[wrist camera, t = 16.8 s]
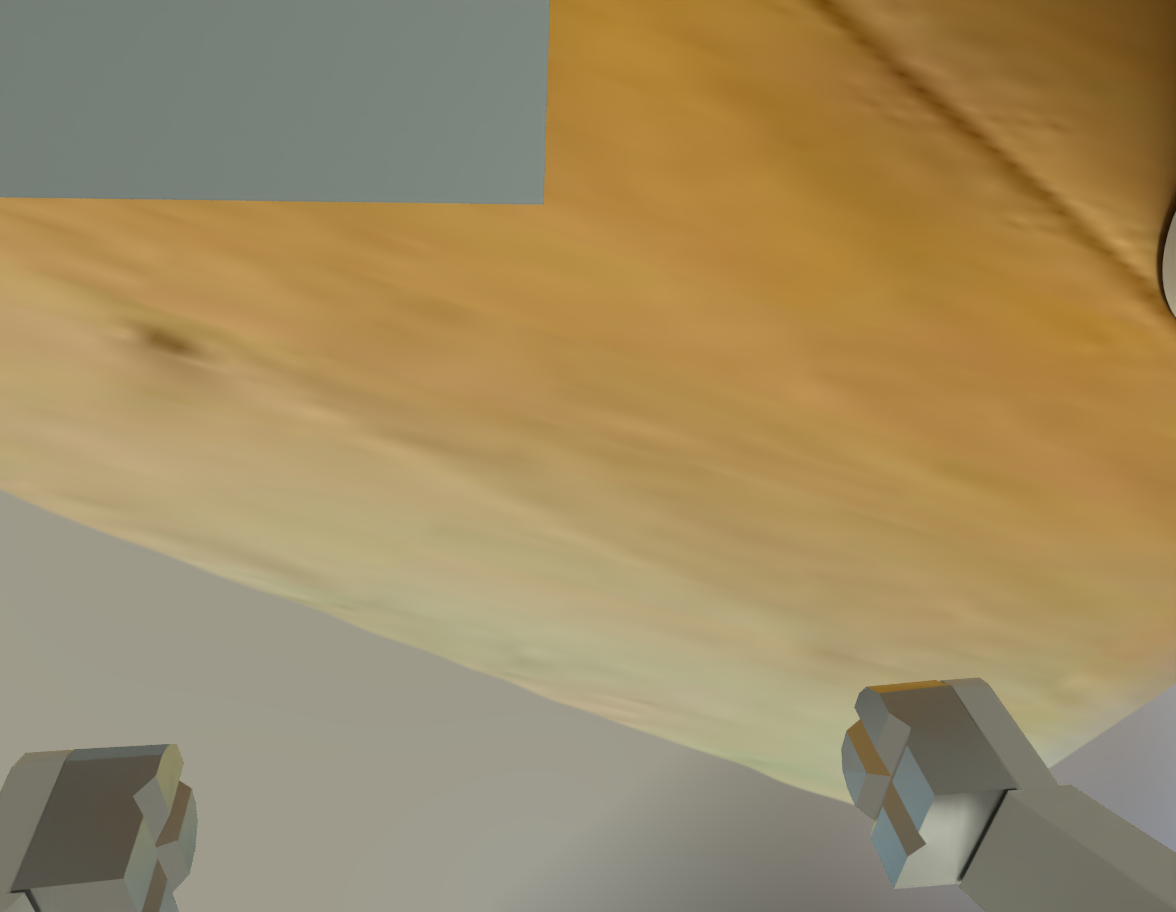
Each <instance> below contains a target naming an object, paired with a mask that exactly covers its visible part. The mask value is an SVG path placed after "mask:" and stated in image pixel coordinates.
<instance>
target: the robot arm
mask: <svg viewBox="0 0 1176 912" xmlns="http://www.w3.org/2000/svg"><path fill="white" fill-rule="evenodd" d="M1163 284H1164V290H1165V295H1166V298H1167V301H1168V304H1169V306H1170V308H1171V310H1172V312H1173V314H1174V315H1175V317H1176V212H1175V215H1174V217H1173V220H1172V223H1171V226H1170V229H1169V232H1168V236H1167V240H1166V245H1165V250H1164V257H1163ZM855 709H856V711H857V713H858V715H859V717H860V720H859V721H857V722H856V723H855V724H854V725H853V726H852V727H850V728H849V729H848V730H847V731H846V734H845V738H844V742H843V745H842V749H841V750H842V769H843V774H844V777H845V781H846V785H847V788H848V790H849V793H850V795H851V797H852V799H853V802H854V804H855V806H856V807H857V808H859V809H860V810H861V811H862V812H864V813H865V814H866V815H868V816H869V817H870V818H872V819H873V820H874V825H873V829H872V833H871V837H870V839H871V841H872V843H873V846H874V848H875V849H876V852H877V854H878V856H879V858H880V861H881V863H882V865H883V867H884V869H885V871H886V874H887V876H888V878H889V880H890V882H891V884H892V887H893V889H901V888H912V887H923V886H934V885H945V884H957V883H960V885H959V888H960V889H961V890H962V891H964V892H965V893H966V894H967V895H968V896H969V897H970V898H971V899H972V900H973V901H974V902H975V903H976V904H978V906H980V907H981V908H982V909H983V910H984V911H985V912H1176V853H1175V852H1174V851H1172V850H1171V849H1169V848H1168V847H1166V846H1165V845H1163V844H1162V843H1160V842H1158V841H1157V840H1155V839H1154V838H1152V837H1151V836H1149V835H1148V834H1146V833H1145V832H1143V831H1141V830H1140V829H1138V828H1137V827H1135V826H1134V825H1132V824H1130V823H1129V822H1128V821H1126V820H1124V819H1123V818H1121V817H1120V816H1118V815H1117V814H1115V813H1114V812H1112V811H1111V810H1109V809H1107V808H1106V807H1105V806H1103V805H1101V804H1099V803H1098V802H1097V801H1095V800H1093V799H1092V798H1091V797H1089V796H1088V795H1086V794H1084V793H1083V792H1081V791H1080V790H1078V789H1077V788H1075V787H1074V786H1072V785H1059V784H1058V782H1057V781H1056V780H1055V778H1054V777H1053V775H1052V774H1051V772H1050V771H1049V769H1048V768H1047V766H1046V765H1045V764H1044V762H1043V761H1042V759H1041V758H1040V757H1039V755H1038V754H1037V752H1036V751H1035V749H1034V748H1033V747H1032V745H1031V744H1030V742H1029V741H1028V739H1027V738H1026V737H1025V735H1024V734H1023V732H1022V731H1021V729H1020V728H1019V727H1018V725H1017V724H1016V722H1015V721H1014V719H1013V718H1012V717H1011V715H1010V714H1009V712H1008V711H1007V710H1006V708H1005V707H1004V705H1003V704H1002V702H1001V701H1000V700H999V698H998V697H997V695H996V694H995V692H994V691H993V690H992V688H991V687H990V686H989V684H988V683H986V682H985V681H983V680H982V679H981V678H967V679H954V680H942V681H937V680H932V681H922V682H911V683H901V684H890V685H880V686H869V687H866V688H865V689H863V690H862V691H861V692H860V693H859V695H858V698H857V701H856V704H855ZM183 764H184V762H183V759H182V757H181V754H180V751H179V749H178V746H177V745H176V744H164V745H146V746H129V747H111V748H92V749H75V750H62V751H47V752H33V753H25V754H24V755H23V756H22V757H21V758H20V759H19V760H18V762H17V763H16V764H15V765H14V766H13V767H12V768H11V770H10V772H9V774H8V776H7V779H6V780H5V783H4V785H3V787H2V789H1V791H0V912H179V910H178V907H177V904H176V901H175V899H174V896H173V893H172V892H173V891H174V890H175V889H176V888H177V887H178V886H179V885H180V884H181V883H182V882H183V881H184V879H185V878H186V877H187V876H188V875H189V874H190V869H191V866H192V861H193V857H194V852H195V847H196V834H197V822H198V821H197V810H196V802H195V798H194V795H193V791H192V789H191V788H190V787H189V786H187V785H185V784H184V783H182V782H180V781H179V778H180V775H181V771H182V768H183Z"/></svg>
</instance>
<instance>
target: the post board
mask: <svg viewBox="0 0 1176 912" xmlns="http://www.w3.org/2000/svg"><path fill="white" fill-rule="evenodd" d="M549 7H550V0H0V197H22V198H97V199H171V200H246V201H320V202H395V203H469V204H544V172H545V139H546V106H547V73H548V40H549Z"/></svg>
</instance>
